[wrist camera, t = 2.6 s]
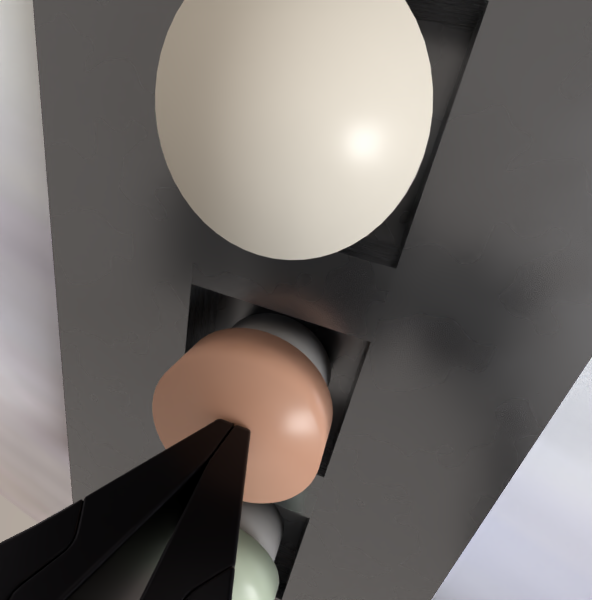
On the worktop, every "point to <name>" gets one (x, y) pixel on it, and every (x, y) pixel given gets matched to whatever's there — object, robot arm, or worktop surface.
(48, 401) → the worktop surface
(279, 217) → the button ivory
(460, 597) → the worktop surface
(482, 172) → the console
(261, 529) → the button sage
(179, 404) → the button terracotta
